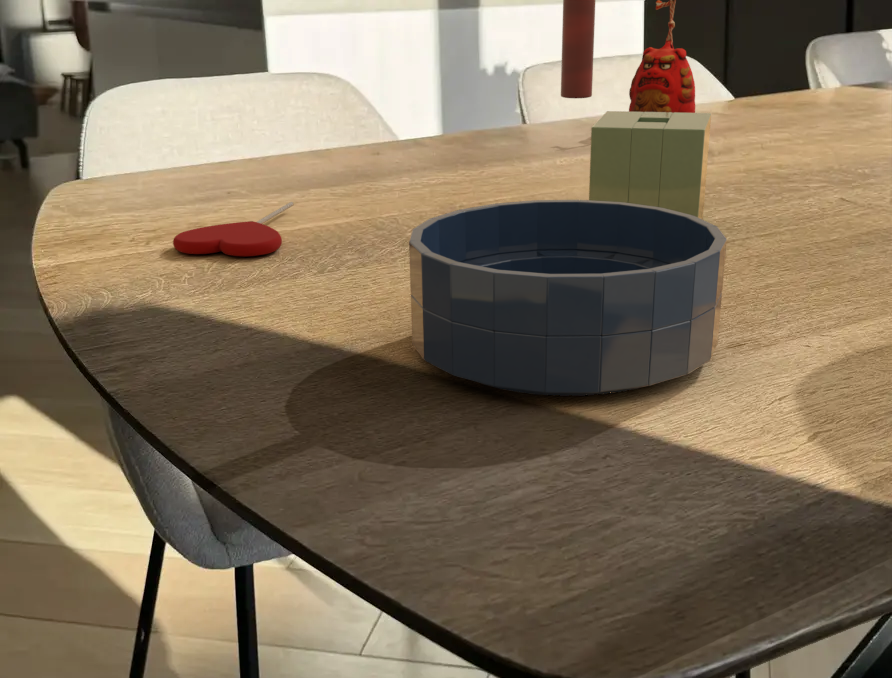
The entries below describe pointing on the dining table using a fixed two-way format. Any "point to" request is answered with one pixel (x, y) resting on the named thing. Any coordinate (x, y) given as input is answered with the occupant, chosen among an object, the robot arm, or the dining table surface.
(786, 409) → the dining table surface
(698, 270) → the bowl
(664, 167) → the block
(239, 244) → the lollipop
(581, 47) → the stirring stick
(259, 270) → the dining table surface
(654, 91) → the red clay folk toy
